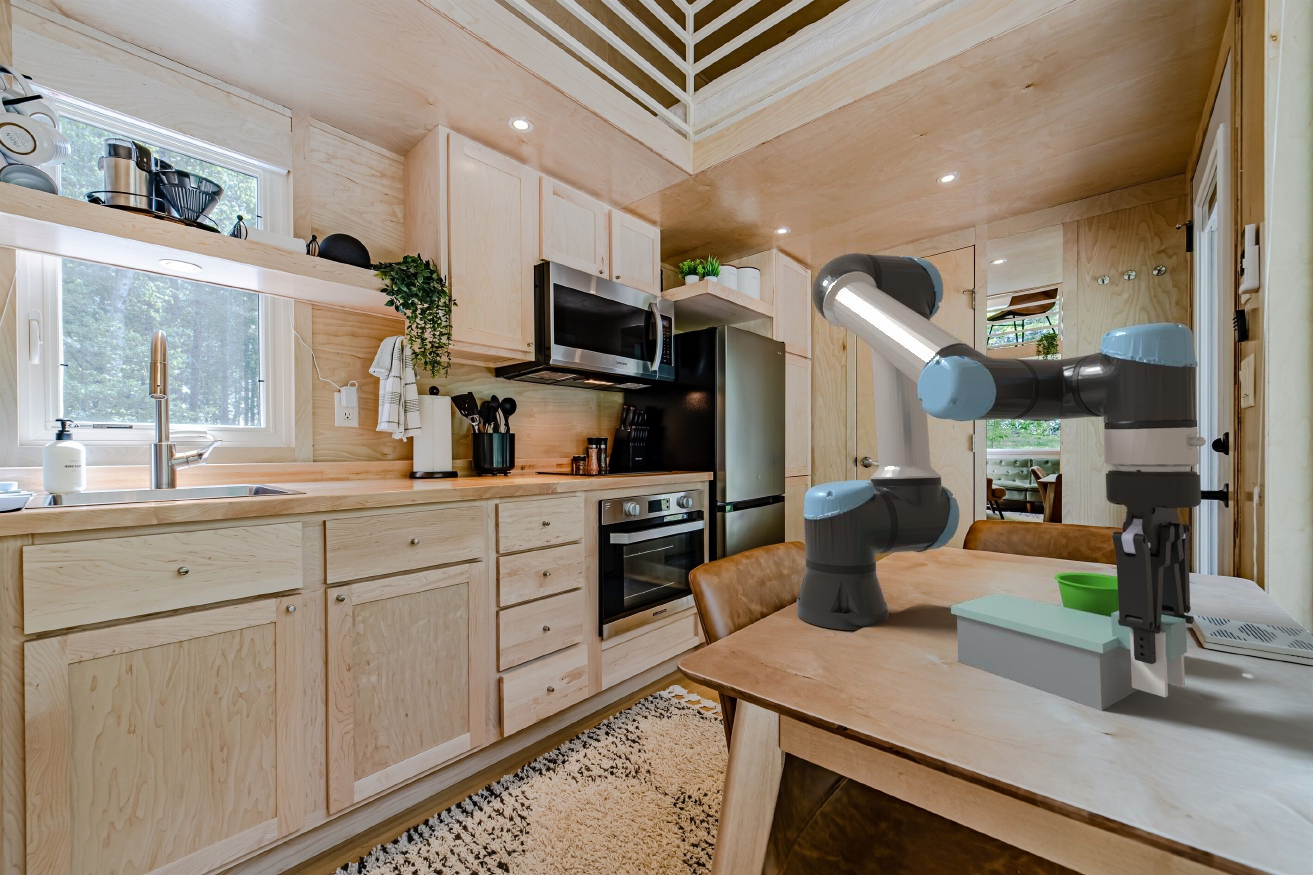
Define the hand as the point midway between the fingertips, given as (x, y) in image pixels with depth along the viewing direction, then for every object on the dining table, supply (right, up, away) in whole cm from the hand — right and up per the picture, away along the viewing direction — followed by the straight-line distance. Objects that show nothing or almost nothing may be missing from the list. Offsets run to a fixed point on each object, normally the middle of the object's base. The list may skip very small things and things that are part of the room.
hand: (1158, 685), depth 58 cm
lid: (-4, +3, +8) cm, 9 cm away
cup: (+6, -4, +15) cm, 16 cm away
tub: (-5, -4, +9) cm, 11 cm away
